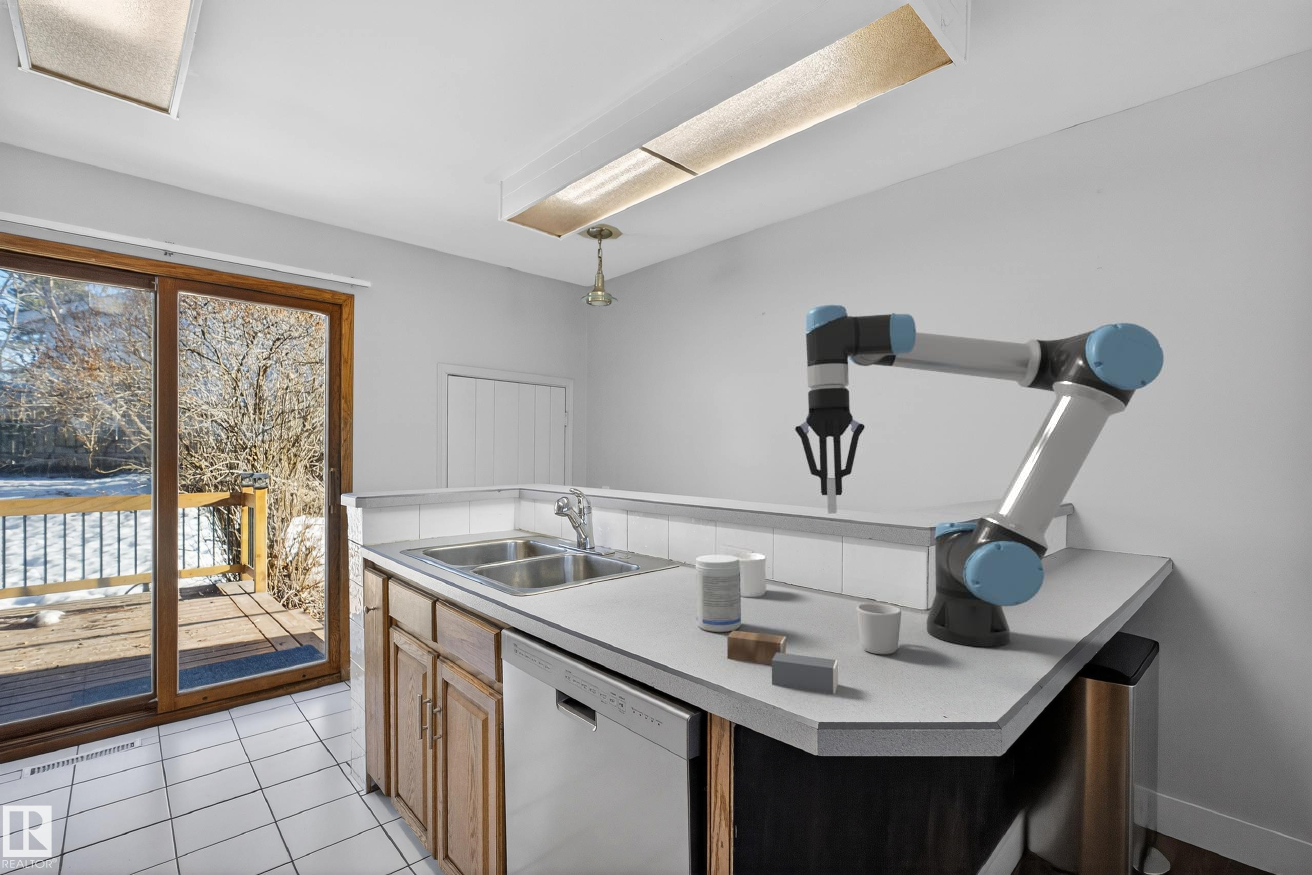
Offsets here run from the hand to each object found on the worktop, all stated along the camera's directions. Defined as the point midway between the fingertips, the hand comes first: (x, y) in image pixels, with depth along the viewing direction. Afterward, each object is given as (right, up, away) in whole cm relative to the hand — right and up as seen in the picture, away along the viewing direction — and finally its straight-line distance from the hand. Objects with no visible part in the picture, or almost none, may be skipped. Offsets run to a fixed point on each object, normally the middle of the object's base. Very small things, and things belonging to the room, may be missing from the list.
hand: (832, 512), depth 116 cm
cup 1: (-9, -27, +44) cm, 53 cm away
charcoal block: (-5, -24, -18) cm, 30 cm away
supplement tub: (-20, -27, +15) cm, 37 cm away
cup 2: (+10, -26, +1) cm, 28 cm away
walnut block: (-10, -24, -6) cm, 27 cm away
